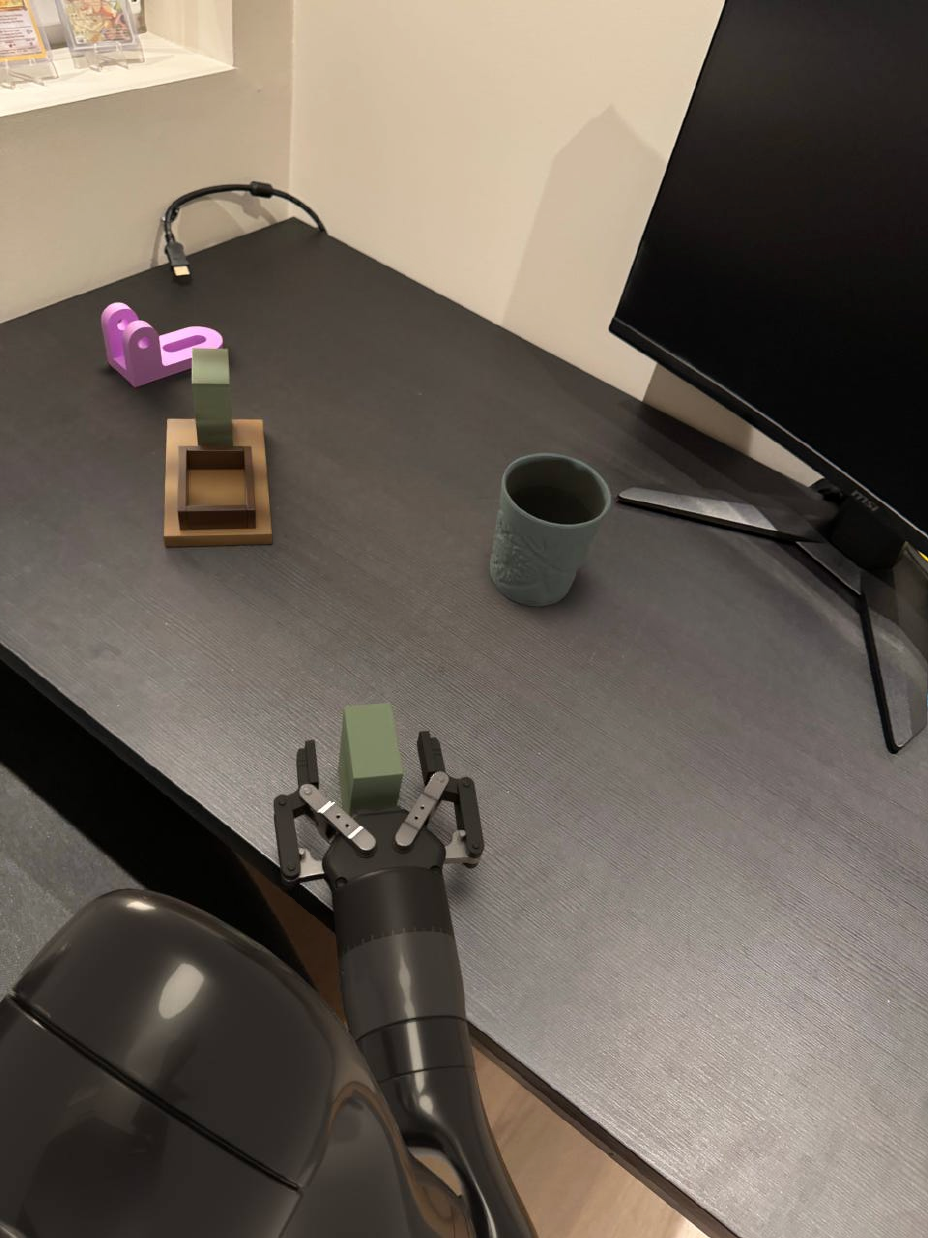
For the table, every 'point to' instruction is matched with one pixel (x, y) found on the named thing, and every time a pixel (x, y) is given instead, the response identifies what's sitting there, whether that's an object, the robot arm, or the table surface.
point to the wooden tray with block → (215, 466)
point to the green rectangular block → (369, 758)
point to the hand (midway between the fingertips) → (366, 740)
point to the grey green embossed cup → (545, 526)
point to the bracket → (150, 346)
